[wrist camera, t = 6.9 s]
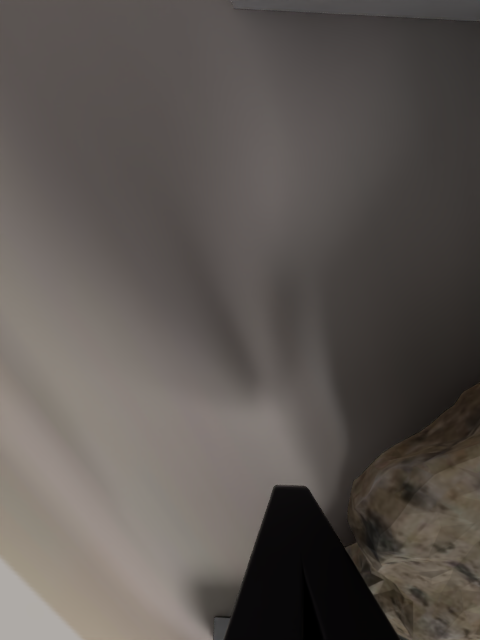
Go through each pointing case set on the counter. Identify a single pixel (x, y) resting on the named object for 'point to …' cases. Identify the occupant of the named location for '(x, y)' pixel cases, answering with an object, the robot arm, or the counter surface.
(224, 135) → the counter surface
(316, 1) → the bay
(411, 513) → the rock
